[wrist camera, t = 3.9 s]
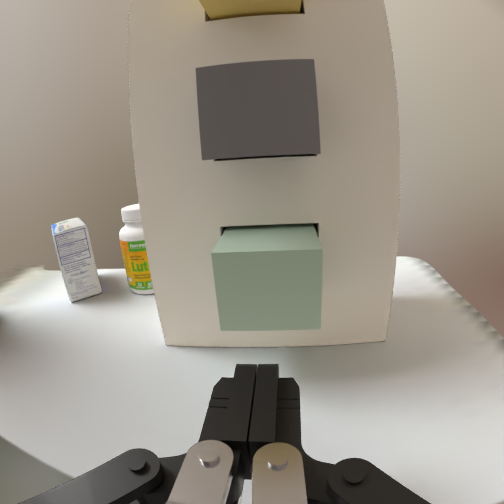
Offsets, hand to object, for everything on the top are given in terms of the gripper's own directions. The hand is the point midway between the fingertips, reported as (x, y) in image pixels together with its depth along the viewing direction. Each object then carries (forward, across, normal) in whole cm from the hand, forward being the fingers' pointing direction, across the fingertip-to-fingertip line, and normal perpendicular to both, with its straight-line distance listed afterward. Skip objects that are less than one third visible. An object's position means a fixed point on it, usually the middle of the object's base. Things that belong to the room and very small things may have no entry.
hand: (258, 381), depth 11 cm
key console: (+16, 0, +7) cm, 17 cm away
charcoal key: (+11, 0, -8) cm, 13 cm away
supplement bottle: (+24, +15, +7) cm, 29 cm away
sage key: (+11, 0, +2) cm, 11 cm away
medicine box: (+23, +25, +7) cm, 35 cm away
